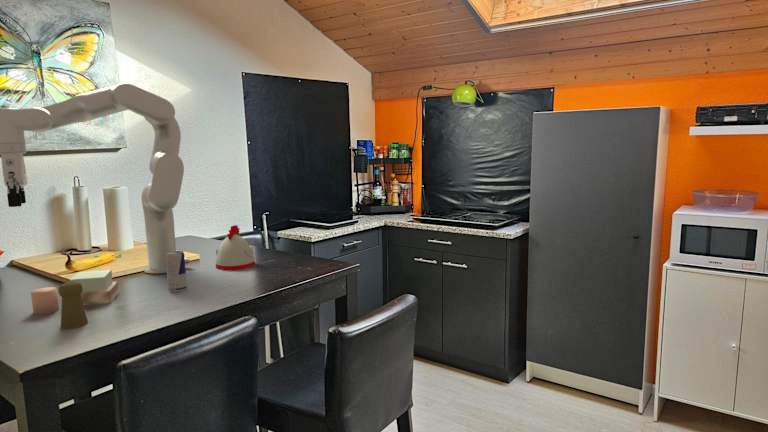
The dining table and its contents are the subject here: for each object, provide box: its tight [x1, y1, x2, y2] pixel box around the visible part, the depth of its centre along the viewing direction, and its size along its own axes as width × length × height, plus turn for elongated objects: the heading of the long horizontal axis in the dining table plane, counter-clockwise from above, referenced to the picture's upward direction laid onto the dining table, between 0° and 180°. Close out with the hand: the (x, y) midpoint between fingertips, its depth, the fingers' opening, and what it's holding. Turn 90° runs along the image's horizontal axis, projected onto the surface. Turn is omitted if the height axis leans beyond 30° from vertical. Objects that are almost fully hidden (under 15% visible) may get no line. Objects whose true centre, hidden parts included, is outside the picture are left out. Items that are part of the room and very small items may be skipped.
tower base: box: [81, 281, 119, 306], centre depth 155 cm, size 11×11×4 cm
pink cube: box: [30, 286, 60, 316], centre depth 144 cm, size 6×6×6 cm
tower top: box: [68, 269, 114, 293], centre depth 154 cm, size 9×9×4 cm
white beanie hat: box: [215, 224, 256, 271], centre depth 192 cm, size 14×14×15 cm
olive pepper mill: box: [58, 281, 89, 330], centre depth 132 cm, size 6×6×11 cm
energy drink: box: [166, 250, 188, 293], centre depth 162 cm, size 5×5×12 cm
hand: (17, 204), depth 162 cm, fingers open, 9 cm apart
